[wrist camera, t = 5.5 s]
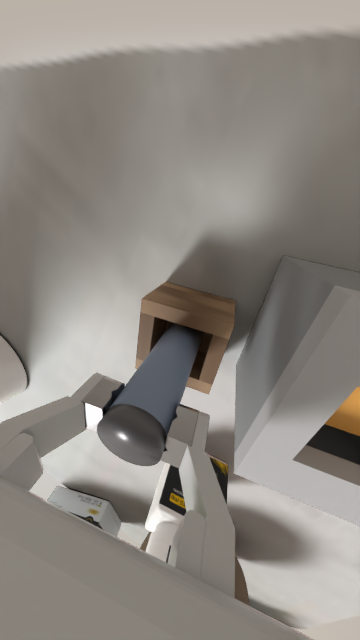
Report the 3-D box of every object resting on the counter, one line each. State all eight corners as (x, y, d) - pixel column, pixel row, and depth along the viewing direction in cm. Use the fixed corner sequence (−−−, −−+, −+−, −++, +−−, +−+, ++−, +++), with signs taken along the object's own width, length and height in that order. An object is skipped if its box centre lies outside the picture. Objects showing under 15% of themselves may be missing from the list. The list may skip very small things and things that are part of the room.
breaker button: (291, 382, 12) (303, 416, 10) (318, 339, 10) (340, 369, 8) (347, 400, 11) (373, 441, 9) (384, 358, 10) (426, 395, 8)
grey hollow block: (236, 365, 18) (233, 473, 10) (283, 255, 13) (351, 294, 5) (328, 395, 16) (409, 547, 9) (417, 285, 12) (782, 399, 4)
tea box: (73, 505, 49) (14, 604, 36) (58, 483, 45) (-15, 584, 32) (123, 523, 44) (76, 644, 31) (110, 499, 40) (50, 626, 27)
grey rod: (170, 336, 17) (97, 448, 8) (175, 308, 16) (96, 406, 7) (200, 346, 17) (157, 474, 8) (208, 318, 15) (167, 435, 7)
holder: (156, 339, 19) (135, 368, 15) (165, 281, 16) (141, 298, 12) (215, 358, 18) (208, 394, 14) (235, 300, 15) (234, 325, 11)
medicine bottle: (229, 463, 24) (221, 642, 14) (209, 485, 27) (190, 642, 17) (177, 437, 25) (133, 589, 14) (164, 463, 28) (120, 599, 18)
